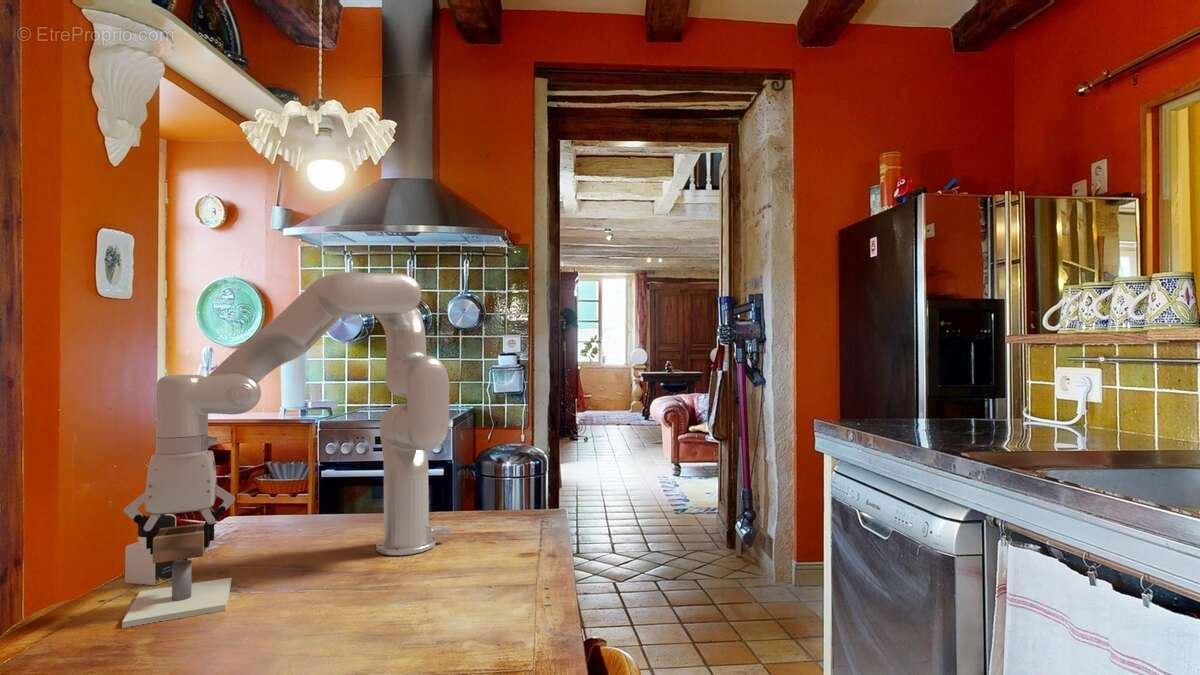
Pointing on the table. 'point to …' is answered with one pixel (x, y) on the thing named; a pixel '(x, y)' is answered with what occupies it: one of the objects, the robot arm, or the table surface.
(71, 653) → the table surface
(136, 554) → the medicine bottle
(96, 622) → the table surface
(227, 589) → the post stand
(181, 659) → the table surface
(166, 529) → the walnut ring
